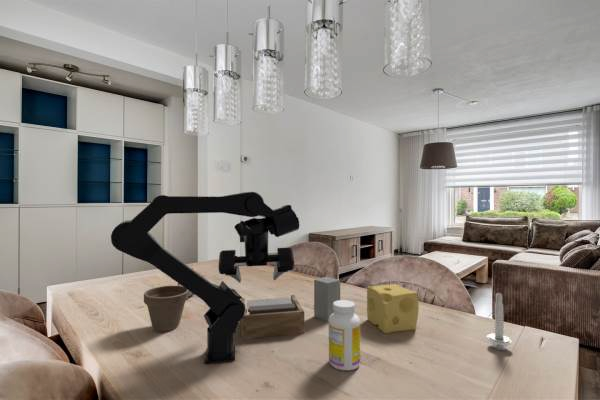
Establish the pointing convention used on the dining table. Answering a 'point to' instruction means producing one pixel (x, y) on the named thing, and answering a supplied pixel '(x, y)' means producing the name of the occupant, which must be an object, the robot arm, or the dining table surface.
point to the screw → (499, 326)
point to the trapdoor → (270, 305)
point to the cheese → (392, 308)
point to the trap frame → (273, 322)
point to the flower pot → (166, 306)
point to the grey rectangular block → (325, 296)
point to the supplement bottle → (344, 336)
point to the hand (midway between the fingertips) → (257, 280)
